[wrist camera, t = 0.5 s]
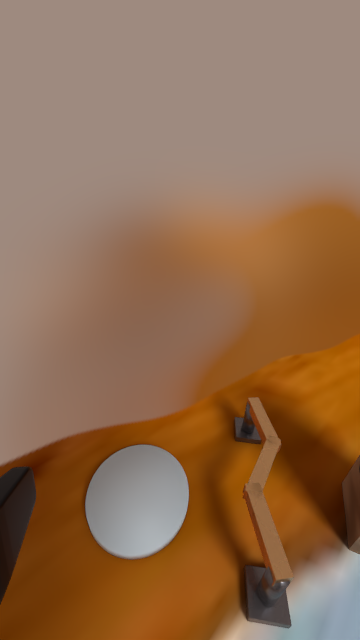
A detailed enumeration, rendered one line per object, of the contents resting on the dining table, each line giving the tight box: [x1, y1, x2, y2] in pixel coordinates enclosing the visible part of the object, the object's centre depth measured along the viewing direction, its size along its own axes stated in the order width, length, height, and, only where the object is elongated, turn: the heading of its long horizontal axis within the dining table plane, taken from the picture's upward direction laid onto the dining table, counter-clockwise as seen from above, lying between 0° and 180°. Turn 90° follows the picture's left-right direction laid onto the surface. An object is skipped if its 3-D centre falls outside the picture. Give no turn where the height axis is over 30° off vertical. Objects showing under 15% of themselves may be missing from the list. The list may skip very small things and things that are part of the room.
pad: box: [85, 445, 189, 560], centre depth 21 cm, size 8×8×1 cm
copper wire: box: [234, 397, 294, 628], centre depth 21 cm, size 14×3×4 cm, turn 173°
